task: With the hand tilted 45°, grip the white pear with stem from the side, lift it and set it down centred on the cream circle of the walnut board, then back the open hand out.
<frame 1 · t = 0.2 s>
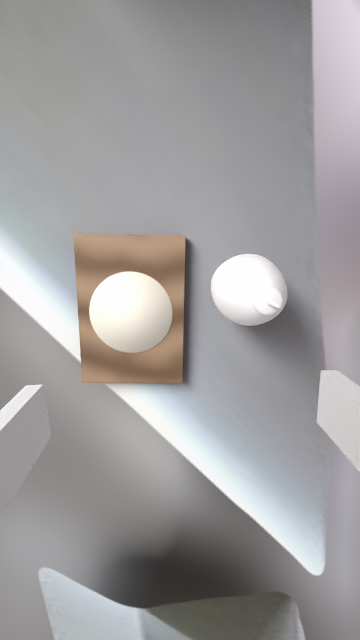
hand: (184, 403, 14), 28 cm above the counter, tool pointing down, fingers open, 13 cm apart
walnut board: (133, 310, 41), on the counter
white pear with stem: (234, 283, 41), on the counter
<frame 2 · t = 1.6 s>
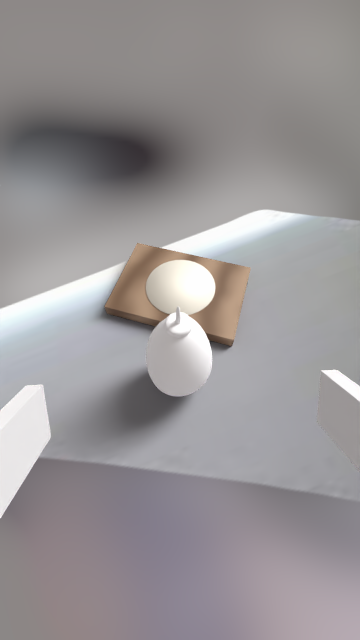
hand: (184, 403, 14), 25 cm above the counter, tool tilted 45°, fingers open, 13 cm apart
walnut board: (180, 293, 49), on the counter
white pear with stem: (179, 379, 41), on the counter
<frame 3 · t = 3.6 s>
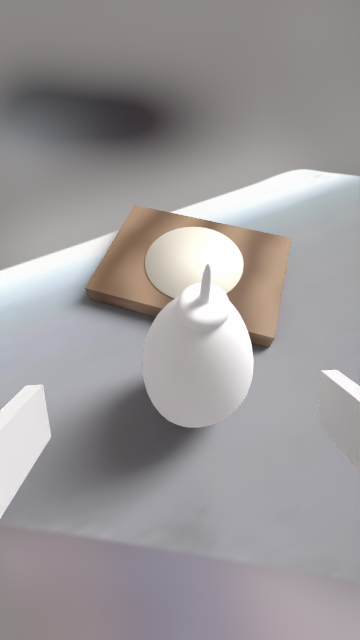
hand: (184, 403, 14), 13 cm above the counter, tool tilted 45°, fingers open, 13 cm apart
walnut board: (193, 273, 35), on the counter
white pear with stem: (192, 395, 28), on the counter
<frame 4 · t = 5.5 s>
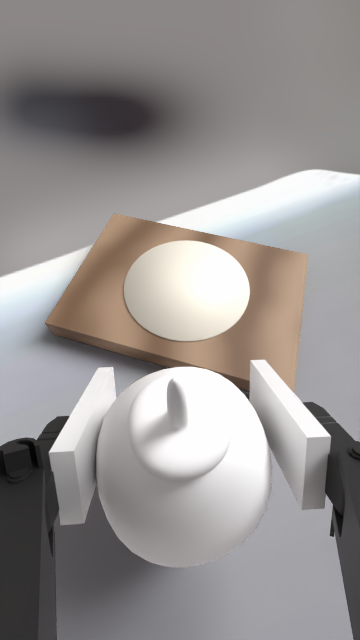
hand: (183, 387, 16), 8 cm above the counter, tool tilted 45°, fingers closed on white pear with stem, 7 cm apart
walnut board: (186, 299, 28), on the counter
white pear with stem: (184, 473, 20), on the counter, touching gripper
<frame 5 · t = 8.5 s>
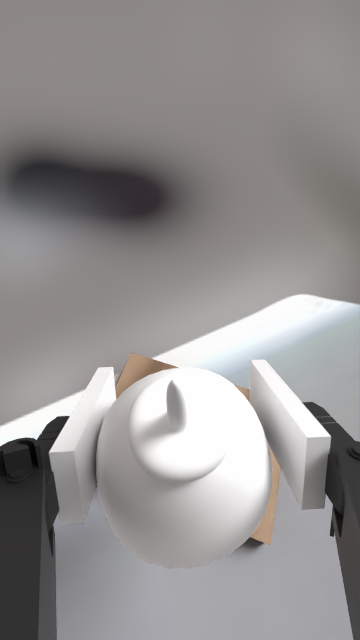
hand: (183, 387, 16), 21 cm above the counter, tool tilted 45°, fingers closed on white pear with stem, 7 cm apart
walnut board: (189, 437, 34), on the counter
white pear with stem: (184, 474, 20), point 13 cm above the counter, touching gripper
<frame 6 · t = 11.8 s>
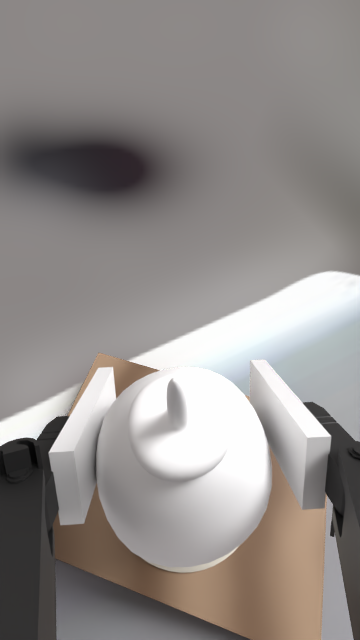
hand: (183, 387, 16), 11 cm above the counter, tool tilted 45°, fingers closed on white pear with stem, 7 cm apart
walnut board: (183, 475, 23), on the counter
white pear with stem: (184, 473, 20), point 3 cm above the counter, touching gripper
when the fingers open (11 cm above the counter, at t = 11.8 s): white pear with stem drops 1 cm, resting on walnut board.
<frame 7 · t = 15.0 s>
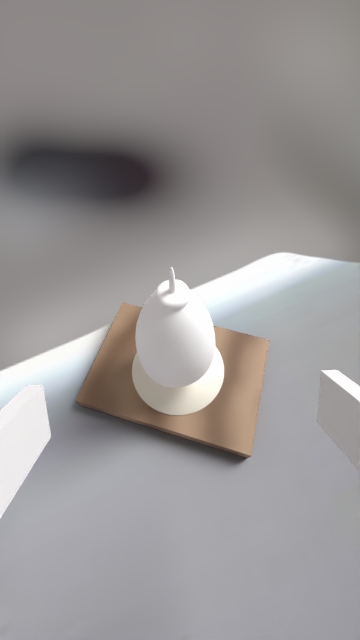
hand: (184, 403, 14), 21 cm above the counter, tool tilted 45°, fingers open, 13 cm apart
walnut board: (178, 374, 37), on the counter
white pear with stem: (177, 368, 35), point 2 cm above the counter, touching walnut board
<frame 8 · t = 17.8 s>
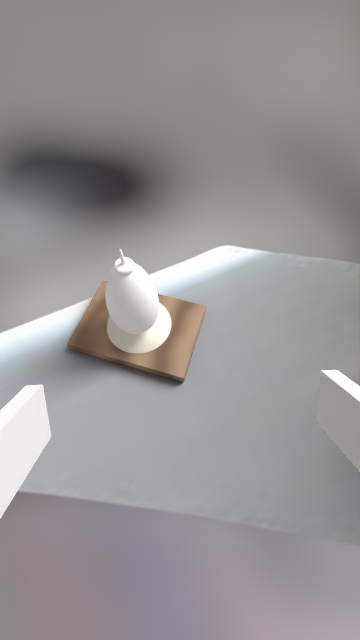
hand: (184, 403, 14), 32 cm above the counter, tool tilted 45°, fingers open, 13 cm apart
walnut board: (140, 330, 52), on the counter
white pear with stem: (138, 324, 51), point 2 cm above the counter, touching walnut board
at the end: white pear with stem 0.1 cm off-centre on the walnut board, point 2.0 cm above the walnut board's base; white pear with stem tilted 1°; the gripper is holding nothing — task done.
